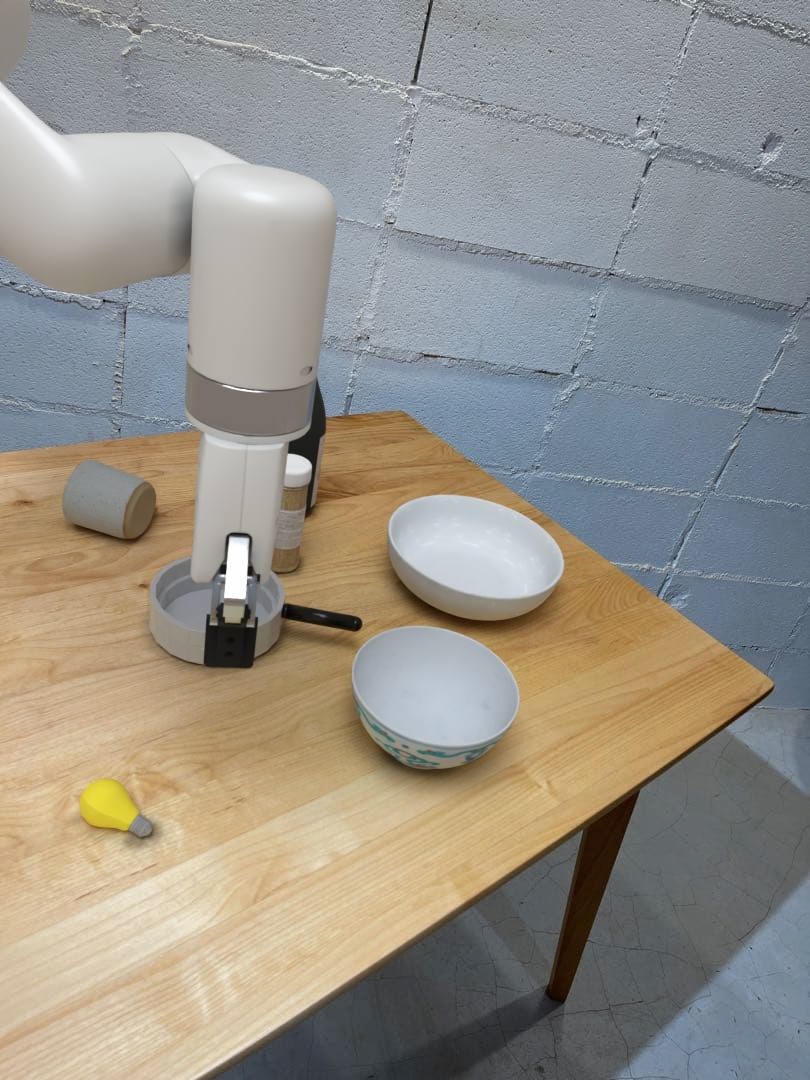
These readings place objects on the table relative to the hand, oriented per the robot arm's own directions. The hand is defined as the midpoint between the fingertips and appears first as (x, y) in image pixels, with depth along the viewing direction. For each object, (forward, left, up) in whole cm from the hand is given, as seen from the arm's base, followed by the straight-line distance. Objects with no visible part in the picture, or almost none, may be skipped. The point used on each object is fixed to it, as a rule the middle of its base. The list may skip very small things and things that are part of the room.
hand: (231, 617), depth 58 cm
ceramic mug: (-21, +35, -18) cm, 45 cm away
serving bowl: (+21, +35, -18) cm, 45 cm away
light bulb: (-6, -5, -18) cm, 20 cm away
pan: (-5, +20, -18) cm, 28 cm away
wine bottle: (-3, +46, -18) cm, 50 cm away
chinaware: (+17, +9, -18) cm, 26 cm away
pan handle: (+5, +20, -15) cm, 26 cm away
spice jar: (-1, +33, -18) cm, 38 cm away
